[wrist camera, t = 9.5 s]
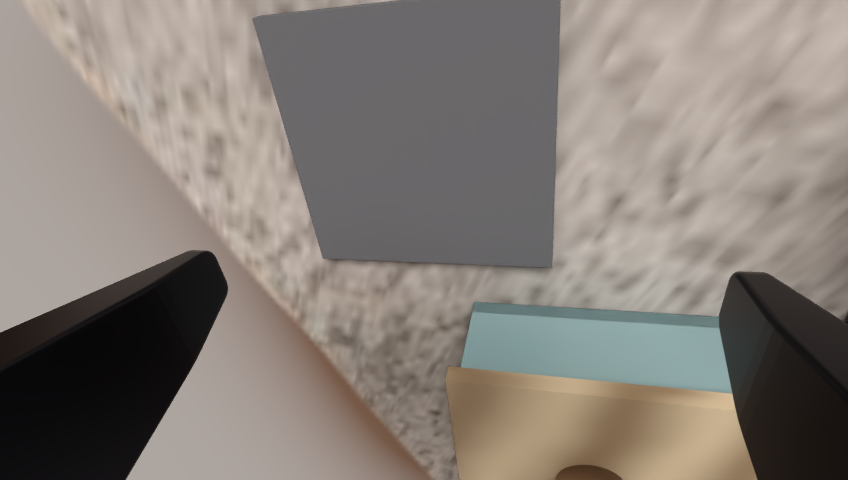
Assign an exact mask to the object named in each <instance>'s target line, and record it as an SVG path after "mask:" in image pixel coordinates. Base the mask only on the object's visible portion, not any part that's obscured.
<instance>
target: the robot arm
mask: <svg viewBox="0 0 848 480" xmlns="http://www.w3.org/2000/svg"><path fill="white" fill-rule="evenodd" d="M227 292H228V285H227V281H226V279H225V277H224V275H223V272H222V270H221V268H220V266H219V264H218V261H217V259H216V257H215V255H214V254H213V253H212V252H209V251H202V250H191V251H187V252H185V253H183V254H180V255H178V256H176V257H174V258H171V259H169V260H166V261H165V262H162V263H160V264H157V265H155V266H153V267H150V268H148V269H146V270H143V271H141V272H139V273H137V274H134V275H132V276H130V277H128V278H125V279H123V280H121V281H118V282H116V283H114V284H111V285H109V286H107V287H104V288H102V289H100V290H98V291H95V292H93V293H90V294H88V295H86V296H84V297H82V298H79V299H77V300H75V301H72V302H70V303H68V304H65V305H63V306H61V307H58V308H56V309H54V310H52V311H49V312H47V313H44V314H42V315H40V316H38V317H35V318H33V319H31V320H28V321H26V322H24V323H21V324H19V325H17V326H15V327H12V328H10V329H8V330H5V331H3V332H1V333H0V480H126V478H127V477H128V475H129V473H130V472H131V470H132V468H133V467H134V465H135V463H136V461H137V460H138V458H139V456H140V455H141V453H142V451H143V450H144V448H145V446H146V445H147V443H148V441H149V439H150V438H151V436H152V434H153V433H154V431H155V429H156V428H157V426H158V424H159V423H160V421H161V419H162V418H163V416H164V414H165V413H166V411H167V409H168V408H169V406H170V404H171V402H172V401H173V399H174V397H175V396H176V394H177V392H178V391H179V389H180V387H181V386H182V384H183V382H184V381H185V379H186V377H187V375H188V374H189V372H190V370H191V368H192V367H193V365H194V363H195V361H196V359H197V357H198V355H199V353H200V351H201V349H202V347H203V345H204V343H205V341H206V339H207V337H208V334H209V332H210V330H211V328H212V326H213V324H214V322H215V320H216V318H217V315H218V313H219V311H220V309H221V307H222V304H223V302H224V301H225V298H226V296H227ZM719 329H720V335H721V340H722V345H723V350H724V355H725V360H726V365H727V370H728V375H729V380H730V385H731V390H732V395H733V400H734V405H735V409H736V414H737V418H738V422H739V425H740V429H741V432H742V435H743V438H744V441H745V444H746V447H747V450H748V453H749V456H750V459H751V462H752V465H753V468H754V471H755V474H756V477H757V480H848V322H847V324H846V323H845V322H843V321H842V320H840V319H838V318H837V317H835V316H834V315H832V314H831V313H829V312H828V311H826V310H824V309H823V308H821V307H820V306H818V305H817V304H815V303H813V302H812V301H810V300H809V299H807V298H806V297H804V296H803V295H801V294H799V293H798V292H796V291H795V290H793V289H792V288H790V287H789V286H787V285H785V284H784V283H782V282H781V281H779V280H778V279H776V278H774V277H773V276H771V275H769V274H768V273H764V272H741V271H739V272H736V273H734V274H733V275H732V276H731V278H730V280H729V283H728V286H727V289H726V293H725V296H724V300H723V303H722V307H721V310H720V314H719Z"/></svg>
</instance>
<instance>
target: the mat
mask: <svg viewBox="0 0 848 480" xmlns="http://www.w3.org/2000/svg"><path fill="white" fill-rule="evenodd" d="M252 19H253V22H254V26H255V29H256V32H257V36H258V39H259V43H260V46H261V49H262V53H263V56H264V60H265V63H266V66H267V70H268V73H269V77H270V80H271V83H272V87H273V90H274V94H275V97H276V100H277V104H278V107H279V111H280V114H281V117H282V121H283V124H284V128H285V131H286V134H287V138H288V141H289V145H290V148H291V151H292V155H293V158H294V162H295V165H296V168H297V172H298V175H299V178H300V182H301V185H302V189H303V192H304V195H305V199H306V202H307V206H308V209H309V212H310V216H311V219H312V223H313V226H314V229H315V233H316V236H317V240H318V243H319V246H320V250H321V253H322V257H323V258H324V259H349V260H373V261H398V262H423V263H448V264H473V265H498V266H523V267H548V268H552V255H553V223H554V191H555V159H556V127H557V95H558V63H559V31H560V0H398V1H389V2H380V3H371V4H362V5H353V6H344V7H335V8H326V9H317V10H308V11H299V12H289V13H280V14H271V15H262V16H258V17H255V18H252Z"/></svg>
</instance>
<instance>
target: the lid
mask: <svg viewBox="0 0 848 480" xmlns="http://www.w3.org/2000/svg"><path fill="white" fill-rule="evenodd" d="M445 384H446V390H447V397H448V404H449V411H450V418H451V425H452V431H453V438H454V445H455V452H456V459H457V465H458V472H459V479H460V480H757V477H756V474H755V471H754V468H753V465H752V462H751V459H750V456H749V453H748V450H747V447H746V444H745V441H744V438H743V435H742V432H741V429H740V425H739V422H738V418H737V414H736V409H735V405H734V400H733V395H732V394H729V393H719V392H709V391H699V390H688V389H678V388H668V387H658V386H647V385H637V384H627V383H617V382H606V381H596V380H586V379H575V378H565V377H555V376H545V375H534V374H524V373H514V372H504V371H493V370H483V369H473V368H463V367H452V366H448V370H447V374H446V378H445Z"/></svg>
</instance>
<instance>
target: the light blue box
mask: <svg viewBox="0 0 848 480" xmlns="http://www.w3.org/2000/svg"><path fill="white" fill-rule="evenodd" d="M461 367H463V368H473V369H483V370H493V371H504V372H514V373H524V374H534V375H545V376H555V377H565V378H575V379H586V380H596V381H606V382H617V383H627V384H637V385H647V386H658V387H668V388H678V389H688V390H699V391H709V392H719V393H729V394H732V390H731V385H730V380H729V375H728V370H727V365H726V360H725V355H724V350H723V345H722V340H721V335H720V329H719V317H712V316H696V315H680V314H663V313H647V312H630V311H614V310H597V309H581V308H564V307H548V306H531V305H515V304H498V303H482V302H475V303H474V307H473V312H472V316H471V321H470V326H469V330H468V335H467V340H466V344H465V349H464V353H463V358H462V363H461Z"/></svg>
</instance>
